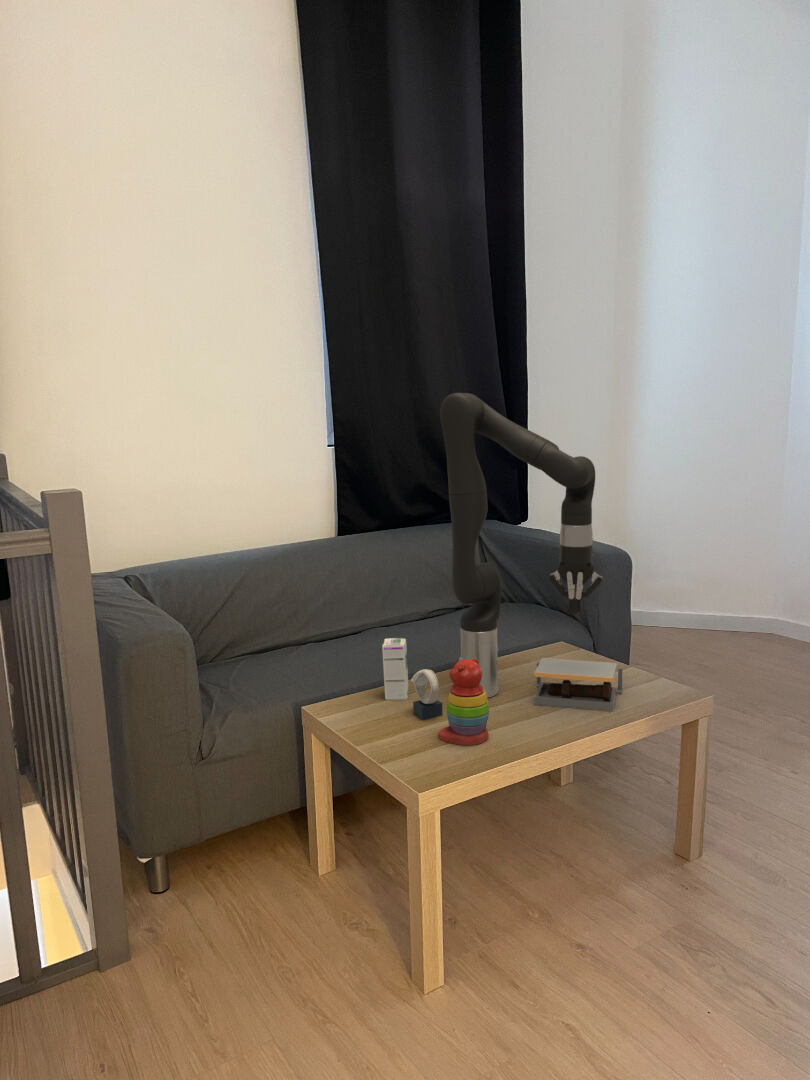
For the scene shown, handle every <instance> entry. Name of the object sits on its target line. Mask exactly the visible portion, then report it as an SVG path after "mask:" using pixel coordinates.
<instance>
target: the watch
mask: <svg viewBox="0 0 810 1080" xmlns="http://www.w3.org/2000/svg"><path fill="white" fill-rule="evenodd" d="M410 681H411V683H412V684H413V688H414V690H415V692H416V695H417V697H418V698H419V700H416V701H413V702H412V706H413V707H412V711H413V712H412V713H413V716H415V717H417V718H419V719H420V720H421V721H424V720H425V721H426V720H429V719H433V718H437V717H441V716H443V702H442V701H440V700H438V699H439V695H440V685H439V680H438V678H437V675H436V673H435V672H434V671H433V670H432V669H426V668H425V669H420V670H419V671H417V672H415V674H414V675H413V676H412V677H411V679H410ZM428 683H429V685H430V691H429V693H427V691H426V688H427V686H428ZM428 694H429V695H428Z"/></svg>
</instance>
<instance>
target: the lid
mask: <svg viewBox="0 0 810 1080" xmlns="http://www.w3.org/2000/svg"><path fill="white" fill-rule="evenodd" d="M539 662H540V663H539V665H538V667H537V666H536V669H535V670H534V672H533V674H534V677H535V678H537V677H541V678H545V679H546V678H549V679H550V678H551V679H561V680H562V679H564V680H573V681H574V680H577V681H589V682H590V681H591V682H603V683H604V682H611V683H614V681H615V676H616V673H617V669H618V668H617V667H618V662H609V661H607V662H605V661H590V660H576V659H575V660H574V659H562V658H560V659H559V658H547V657H542V658H541V660H540V661H539Z"/></svg>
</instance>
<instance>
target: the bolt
mask: <svg viewBox="0 0 810 1080" xmlns="http://www.w3.org/2000/svg"><path fill="white" fill-rule="evenodd" d="M555 683H556V684H555ZM558 683H559V682H551V684H550V685H548V687H550V688H549V689H547V692H548V694H549V695H551V696H554V695H555V696H562V698H568V699H571V697H572V696H573V697H584V698H586V697H588V698H590V697H591V698H597V699H603V701H605V702H610V698H611V687H612V682H603V683H602V684H584V683H583V684H580V683H579V684H577V683H572V682H571V679H564V680H562V681H561V682H560V684H558ZM574 684H575V685H574Z"/></svg>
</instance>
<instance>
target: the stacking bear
mask: <svg viewBox="0 0 810 1080" xmlns="http://www.w3.org/2000/svg"><path fill="white" fill-rule="evenodd" d="M448 674H449V678H450V681H451V682H452V683H453V685H452V686H451V687H450V689H449V690H450V691H449V692H448V699H447V702H446V715H447V720H448V726H445V727H443V728H441V729H440V730H439V731H438V734H437V737H438V739H439V740H440V741H443V742H447V743H450V744H455V745H461V746H474V745H479V744H482V743H484V742H486V741H487V740H489V736H490V734H489V731H488V729H487V726H488V725H487V724H488V720H489V715H490V706H489V705H490V704H489V700H488V698H487V695H486V692H485V690H484V689H483V687H482V686H481V685H480V681H481V678H482V670H481V667H480V666H479V665H478V660H477V659H476V658H473V659H472V660H461V661H459V660H458V661H457V662H456V663H455V664H454V666H453V667H452V668H451V669H450V670H449V673H448Z"/></svg>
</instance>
